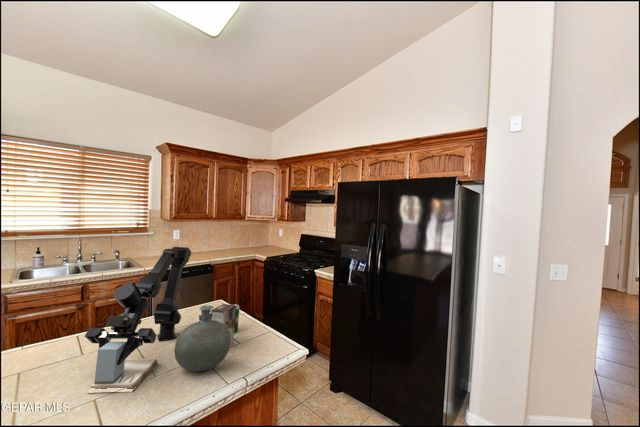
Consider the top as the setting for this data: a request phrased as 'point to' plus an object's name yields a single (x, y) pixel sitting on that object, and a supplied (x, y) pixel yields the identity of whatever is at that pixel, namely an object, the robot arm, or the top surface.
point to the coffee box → (225, 317)
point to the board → (131, 374)
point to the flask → (202, 343)
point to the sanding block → (109, 363)
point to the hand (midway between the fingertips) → (108, 365)
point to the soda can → (236, 318)
